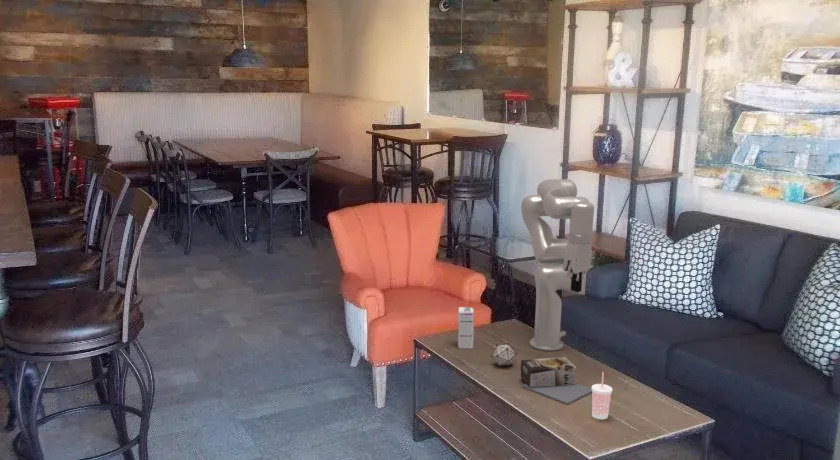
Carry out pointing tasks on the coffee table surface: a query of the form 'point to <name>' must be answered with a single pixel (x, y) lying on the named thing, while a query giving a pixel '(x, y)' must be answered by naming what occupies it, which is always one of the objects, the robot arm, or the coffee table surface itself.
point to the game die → (503, 354)
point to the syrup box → (465, 327)
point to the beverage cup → (601, 400)
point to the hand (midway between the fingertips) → (575, 290)
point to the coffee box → (548, 372)
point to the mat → (562, 392)
